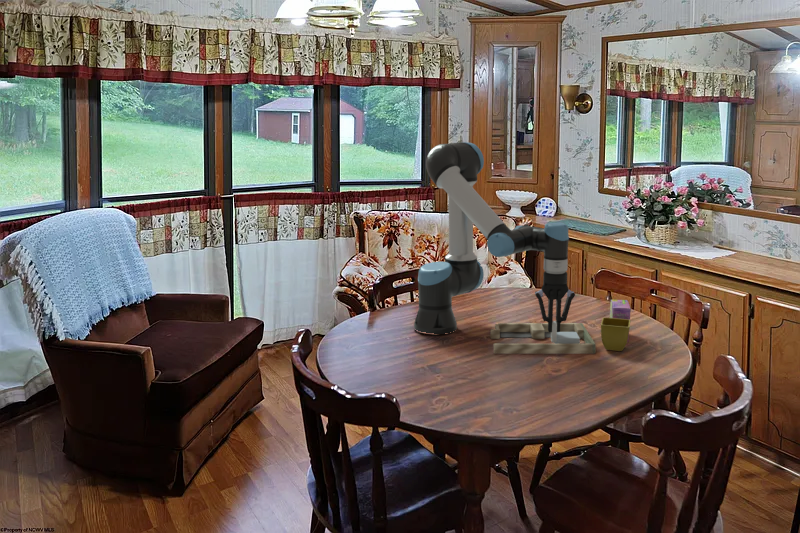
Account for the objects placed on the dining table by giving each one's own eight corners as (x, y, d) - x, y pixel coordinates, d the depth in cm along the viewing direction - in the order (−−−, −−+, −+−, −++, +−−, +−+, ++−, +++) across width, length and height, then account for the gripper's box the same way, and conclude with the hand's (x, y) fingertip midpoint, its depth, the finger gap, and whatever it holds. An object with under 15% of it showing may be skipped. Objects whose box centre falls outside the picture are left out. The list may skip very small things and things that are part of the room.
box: (629, 342, 244) (630, 308, 242) (611, 341, 246) (612, 307, 243) (626, 333, 254) (627, 299, 252) (608, 332, 255) (610, 299, 253)
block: (557, 350, 239) (557, 338, 238) (554, 343, 246) (554, 331, 245) (579, 350, 239) (579, 338, 238) (575, 343, 246) (576, 331, 245)
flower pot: (629, 345, 241) (630, 319, 239) (628, 354, 233) (629, 326, 231) (601, 343, 244) (602, 317, 242) (599, 351, 236) (600, 324, 234)
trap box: (493, 353, 236) (493, 344, 236) (489, 331, 259) (489, 323, 258) (595, 353, 235) (595, 344, 234) (582, 331, 257) (582, 323, 256)
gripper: (536, 274, 234) (534, 345, 239) (578, 273, 233) (575, 345, 239) (533, 268, 242) (532, 337, 247) (574, 268, 241) (571, 337, 246)
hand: (553, 341), depth 243 cm, fingers closed
